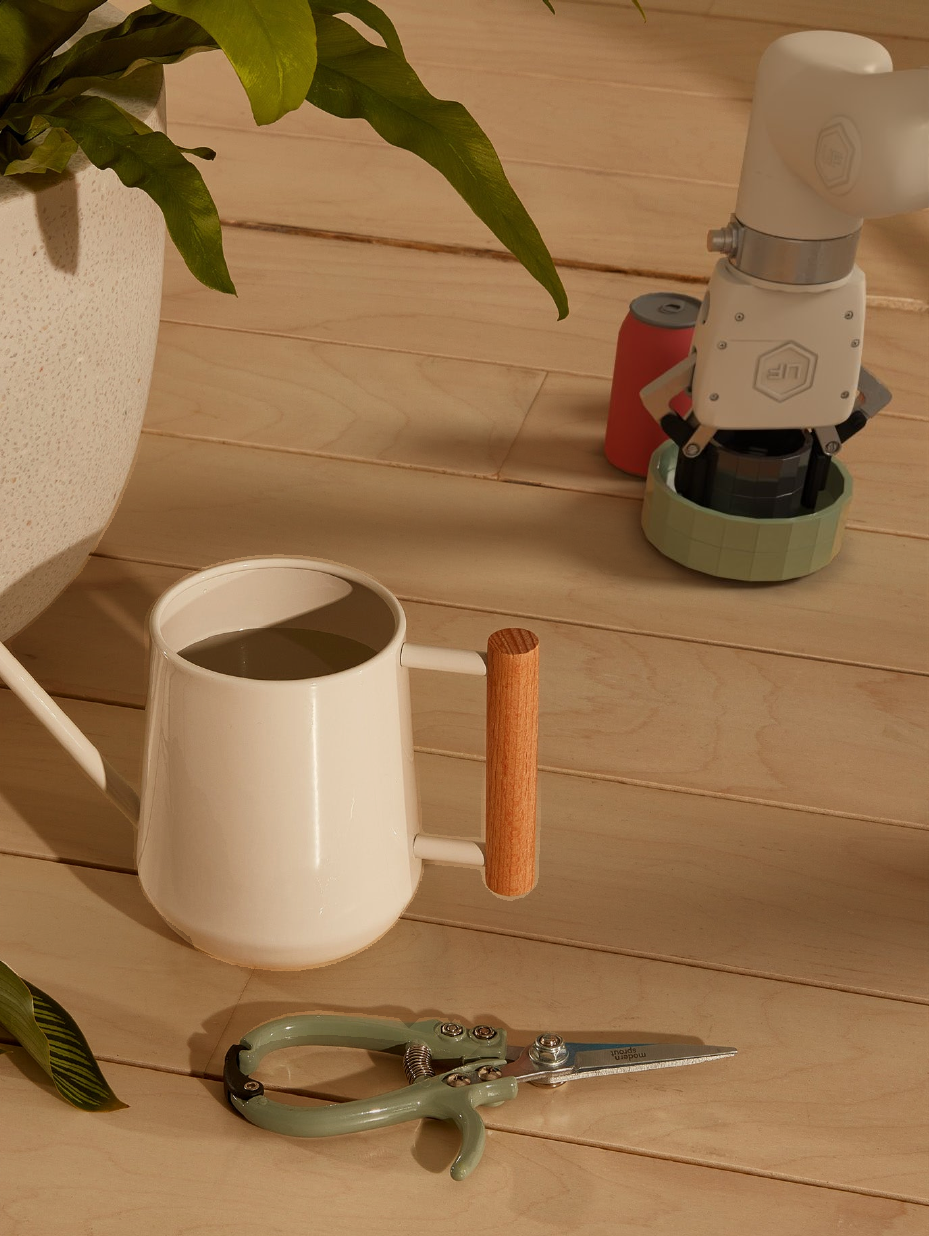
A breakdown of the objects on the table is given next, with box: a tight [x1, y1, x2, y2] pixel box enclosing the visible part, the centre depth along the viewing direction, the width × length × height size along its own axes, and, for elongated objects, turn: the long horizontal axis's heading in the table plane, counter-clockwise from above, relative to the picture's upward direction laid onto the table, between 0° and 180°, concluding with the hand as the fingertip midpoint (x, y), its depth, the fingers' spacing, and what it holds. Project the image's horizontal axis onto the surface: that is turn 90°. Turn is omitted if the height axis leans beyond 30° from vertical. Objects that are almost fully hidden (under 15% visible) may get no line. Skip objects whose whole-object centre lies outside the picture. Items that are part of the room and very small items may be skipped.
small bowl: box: [701, 429, 814, 519], centre depth 115 cm, size 7×7×6 cm
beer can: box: [603, 291, 703, 479], centre depth 124 cm, size 7×7×12 cm
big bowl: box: [640, 438, 854, 582], centre depth 117 cm, size 13×13×5 cm
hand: (746, 497), depth 117 cm, fingers closed on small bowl, 7 cm apart
